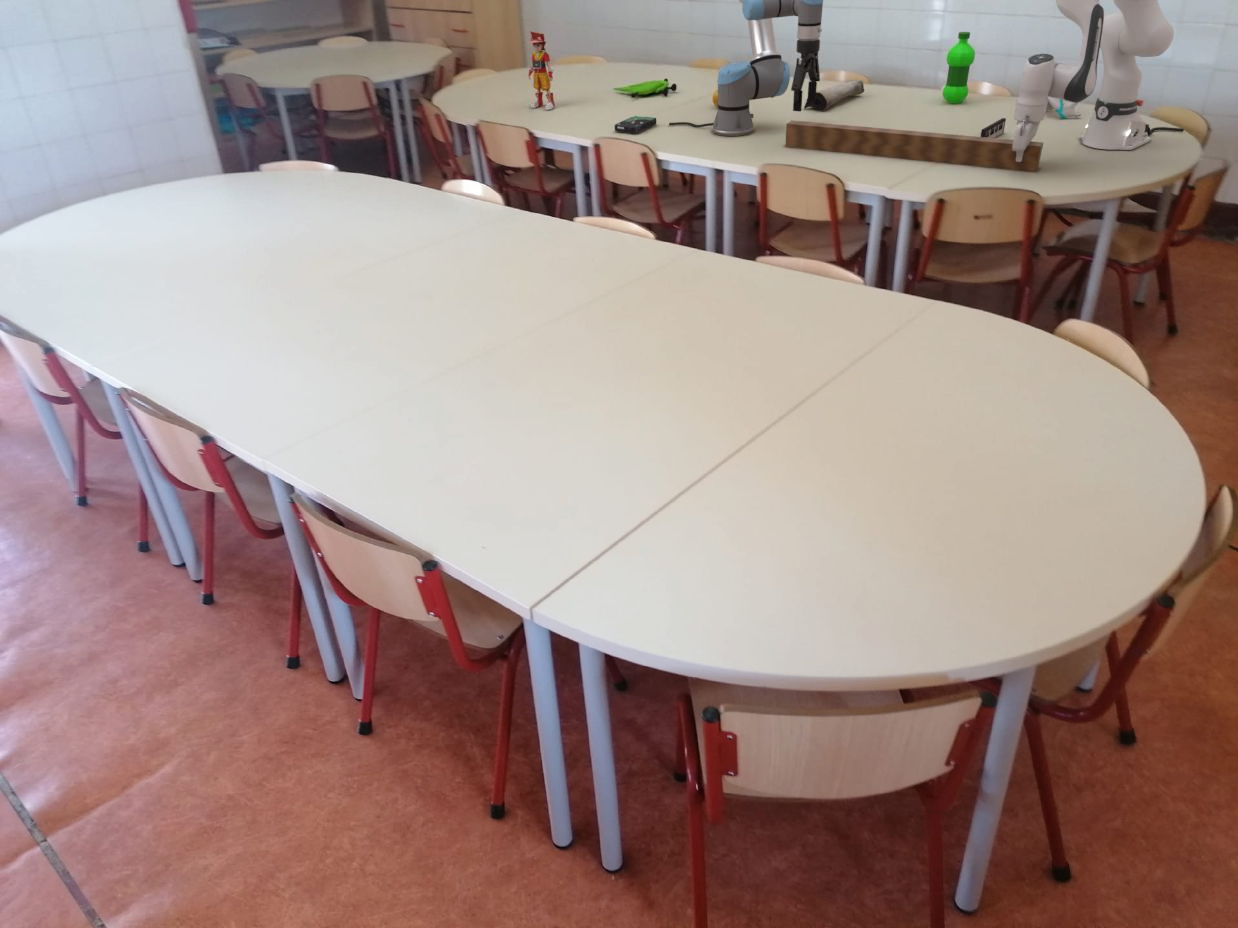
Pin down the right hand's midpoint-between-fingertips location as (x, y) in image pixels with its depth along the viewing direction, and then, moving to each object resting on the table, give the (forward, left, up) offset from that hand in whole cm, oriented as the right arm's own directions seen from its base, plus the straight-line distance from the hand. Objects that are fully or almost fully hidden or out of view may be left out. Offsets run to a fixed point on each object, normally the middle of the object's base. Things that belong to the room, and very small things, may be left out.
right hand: (1020, 158), depth 282 cm
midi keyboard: (-19, -28, -3) cm, 33 cm away
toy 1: (+83, -178, -3) cm, 197 cm away
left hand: (+36, -63, +10) cm, 73 cm away
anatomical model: (-61, -34, -3) cm, 70 cm away
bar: (+18, -31, -3) cm, 36 cm away
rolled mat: (-13, -103, -3) cm, 104 cm away
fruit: (+25, -127, -3) cm, 130 cm away
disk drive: (+70, -122, -3) cm, 141 cm away
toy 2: (+37, -174, -3) cm, 178 cm away
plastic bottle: (-48, -72, -3) cm, 87 cm away
